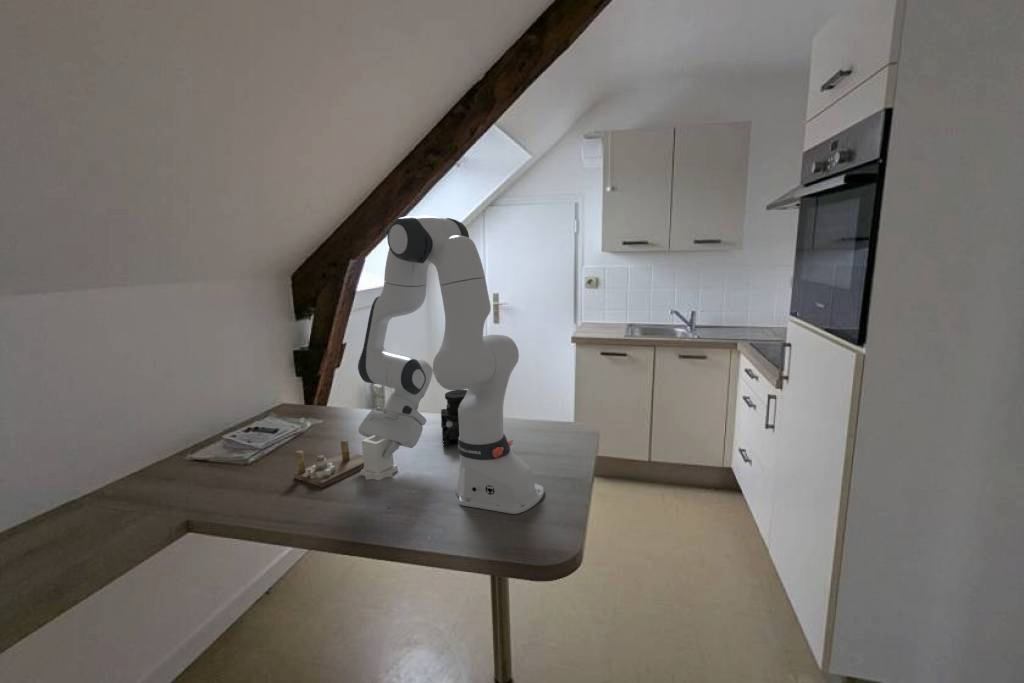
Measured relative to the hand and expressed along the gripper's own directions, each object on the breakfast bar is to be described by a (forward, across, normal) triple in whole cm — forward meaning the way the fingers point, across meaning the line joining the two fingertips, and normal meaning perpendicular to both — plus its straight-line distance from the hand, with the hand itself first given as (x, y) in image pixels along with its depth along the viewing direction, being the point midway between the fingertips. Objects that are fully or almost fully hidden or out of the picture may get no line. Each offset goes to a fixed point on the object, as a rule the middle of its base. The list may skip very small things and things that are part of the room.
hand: (376, 455), depth 137 cm
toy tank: (-19, +4, +27) cm, 33 cm away
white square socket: (+3, 0, +4) cm, 5 cm away
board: (+7, -12, +1) cm, 14 cm away
